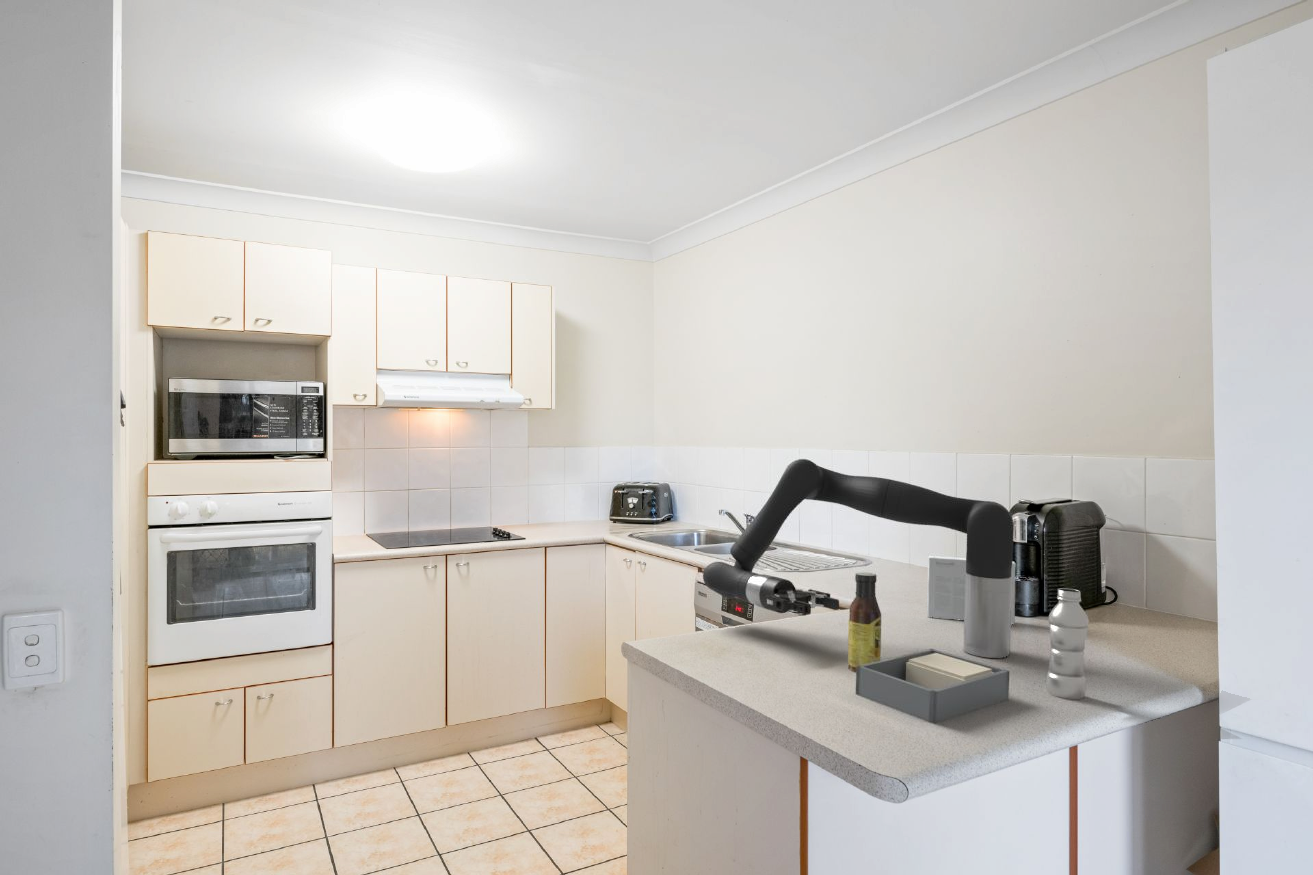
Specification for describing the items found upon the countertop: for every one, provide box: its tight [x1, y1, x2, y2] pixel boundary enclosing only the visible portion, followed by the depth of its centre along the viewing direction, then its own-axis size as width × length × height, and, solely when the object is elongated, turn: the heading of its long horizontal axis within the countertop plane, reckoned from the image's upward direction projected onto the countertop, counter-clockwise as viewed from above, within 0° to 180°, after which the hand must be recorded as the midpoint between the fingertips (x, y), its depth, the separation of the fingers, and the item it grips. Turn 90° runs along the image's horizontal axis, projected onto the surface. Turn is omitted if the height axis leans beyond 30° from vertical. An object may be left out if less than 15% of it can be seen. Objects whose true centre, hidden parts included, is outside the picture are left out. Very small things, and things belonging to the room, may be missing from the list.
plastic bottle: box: [1045, 587, 1090, 700], centre depth 140 cm, size 6×7×20 cm
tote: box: [855, 648, 1010, 725], centre depth 137 cm, size 22×16×6 cm
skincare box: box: [927, 555, 1017, 624], centre depth 200 cm, size 21×5×16 cm, turn 71°
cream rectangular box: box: [906, 653, 994, 690], centre depth 140 cm, size 9×12×5 cm
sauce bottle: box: [847, 572, 882, 673], centre depth 152 cm, size 6×6×20 cm
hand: (824, 607), depth 161 cm, fingers open, 8 cm apart
